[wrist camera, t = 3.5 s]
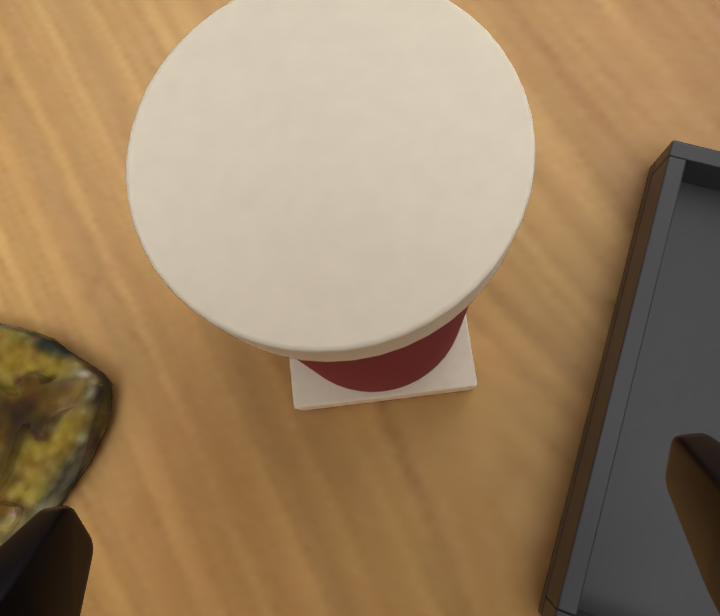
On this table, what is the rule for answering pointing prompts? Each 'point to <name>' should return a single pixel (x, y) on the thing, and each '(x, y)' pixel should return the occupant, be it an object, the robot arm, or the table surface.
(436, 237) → the red cylinder and block
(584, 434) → the tray
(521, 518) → the table surface
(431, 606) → the table surface
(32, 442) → the olive flat oval piece
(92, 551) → the robot arm
